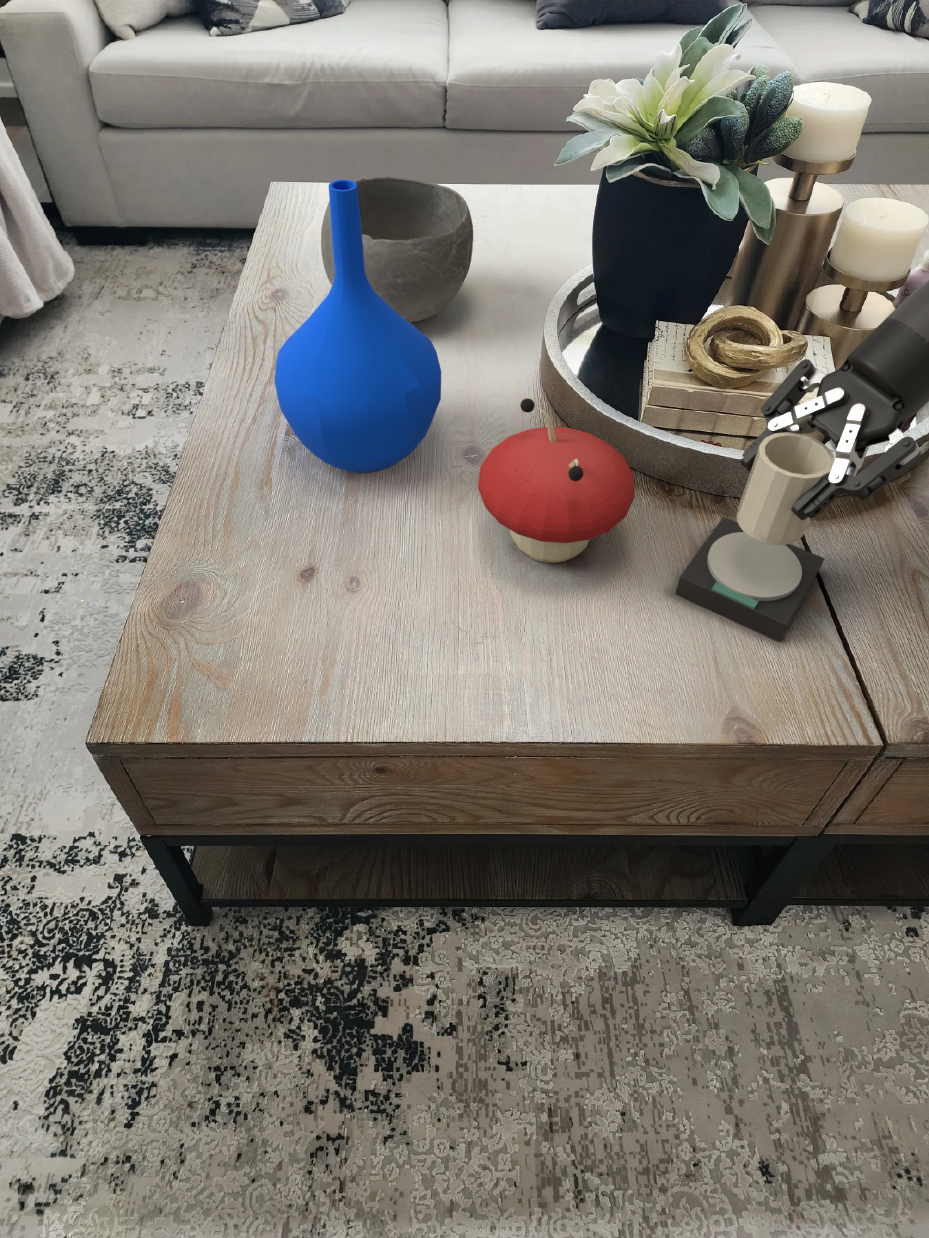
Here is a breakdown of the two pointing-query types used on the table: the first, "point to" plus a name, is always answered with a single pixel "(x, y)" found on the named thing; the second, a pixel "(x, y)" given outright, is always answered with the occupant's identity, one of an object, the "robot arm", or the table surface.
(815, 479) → the beige cup
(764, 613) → the kitchen scale
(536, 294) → the table surface
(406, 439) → the vase
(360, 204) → the bowl
